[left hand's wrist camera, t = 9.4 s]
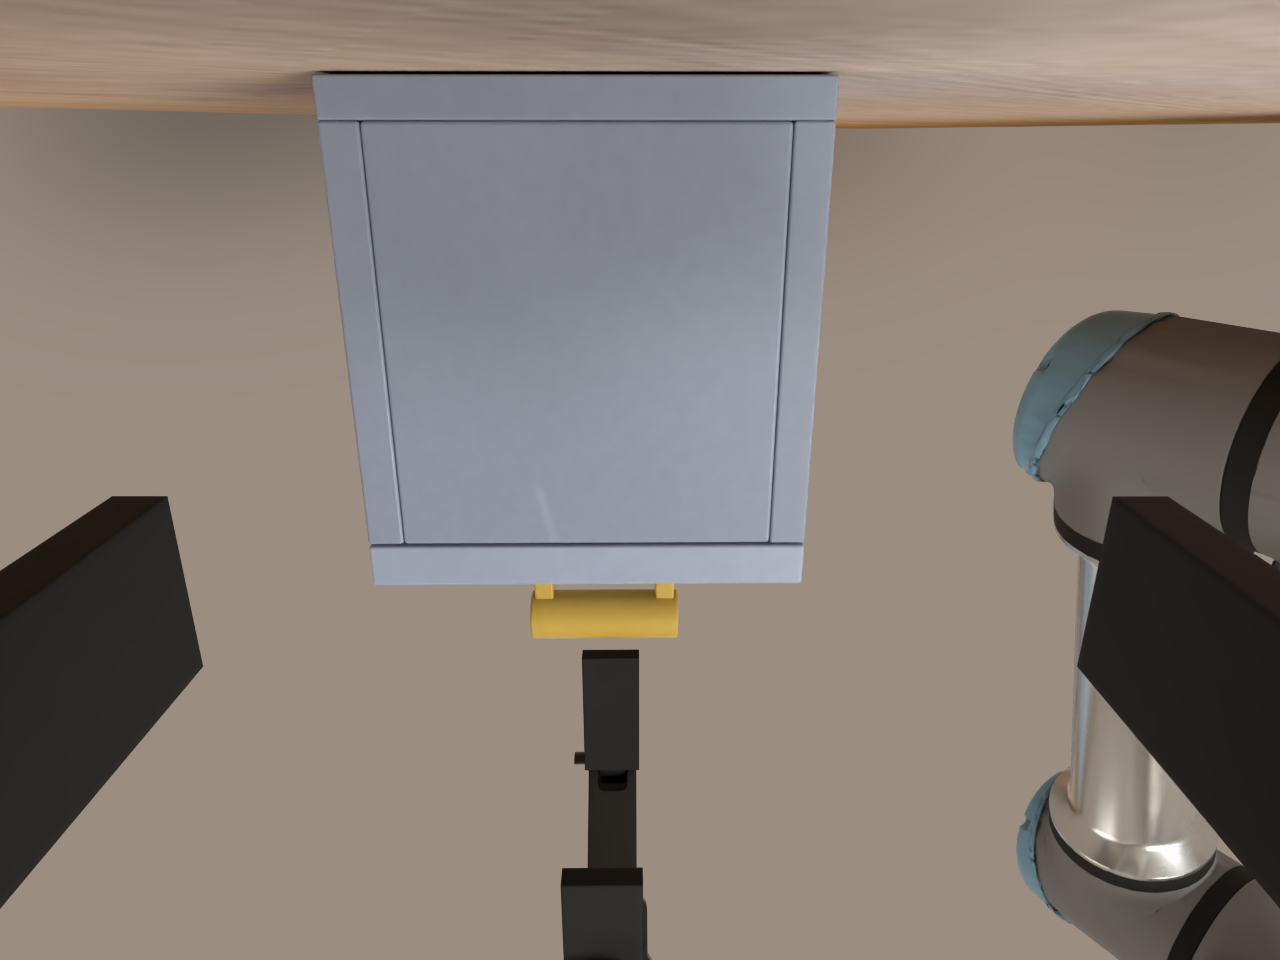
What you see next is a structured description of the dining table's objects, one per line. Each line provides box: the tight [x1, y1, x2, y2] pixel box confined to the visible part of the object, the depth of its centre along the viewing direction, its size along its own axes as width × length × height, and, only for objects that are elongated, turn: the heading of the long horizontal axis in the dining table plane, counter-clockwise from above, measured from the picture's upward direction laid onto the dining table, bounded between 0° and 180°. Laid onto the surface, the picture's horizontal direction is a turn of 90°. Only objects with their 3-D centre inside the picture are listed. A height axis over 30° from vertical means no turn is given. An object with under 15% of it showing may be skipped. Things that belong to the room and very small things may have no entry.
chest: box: [311, 74, 839, 544], centre depth 24 cm, size 13×10×10 cm
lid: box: [370, 540, 804, 638], centre depth 28 cm, size 14×10×9 cm
